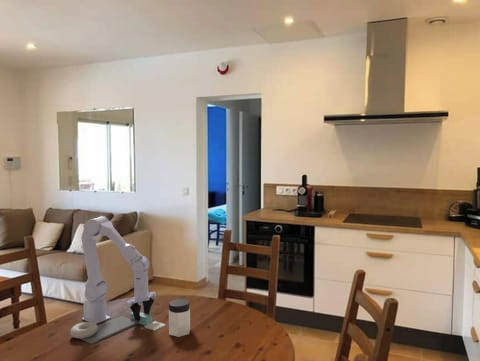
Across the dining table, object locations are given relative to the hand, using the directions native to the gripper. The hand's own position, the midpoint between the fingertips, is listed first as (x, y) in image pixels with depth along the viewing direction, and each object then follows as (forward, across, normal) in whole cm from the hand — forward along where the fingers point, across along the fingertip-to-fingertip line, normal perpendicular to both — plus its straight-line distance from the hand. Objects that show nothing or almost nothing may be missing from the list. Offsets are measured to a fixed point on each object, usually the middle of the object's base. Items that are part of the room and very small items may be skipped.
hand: (141, 318), depth 166 cm
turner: (+2, 0, -3) cm, 3 cm away
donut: (-1, -21, +3) cm, 21 cm away
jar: (+2, +2, -20) cm, 20 cm away
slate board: (+2, -13, +6) cm, 14 cm away
